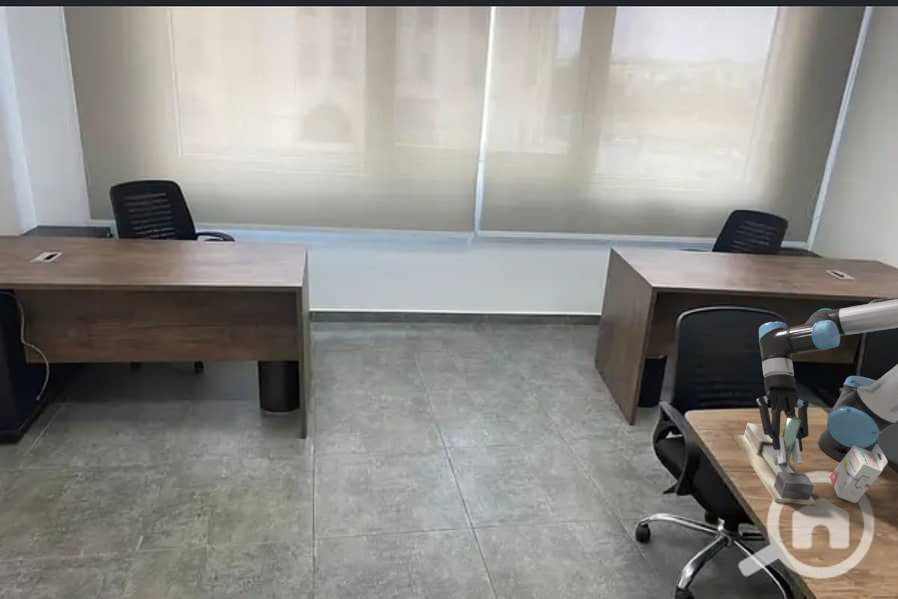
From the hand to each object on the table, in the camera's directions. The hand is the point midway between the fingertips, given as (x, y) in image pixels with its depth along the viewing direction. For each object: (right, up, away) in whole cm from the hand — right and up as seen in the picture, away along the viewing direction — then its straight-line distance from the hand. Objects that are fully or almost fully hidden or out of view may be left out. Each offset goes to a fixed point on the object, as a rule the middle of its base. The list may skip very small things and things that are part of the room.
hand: (789, 463), depth 166 cm
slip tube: (0, -3, +6) cm, 7 cm away
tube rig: (0, -4, +10) cm, 10 cm away
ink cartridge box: (+15, -8, +2) cm, 17 cm away
